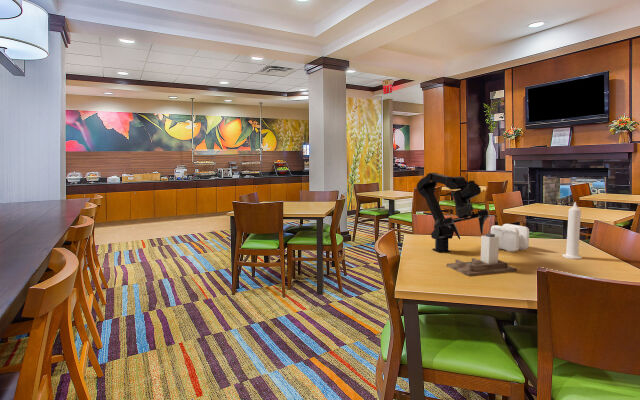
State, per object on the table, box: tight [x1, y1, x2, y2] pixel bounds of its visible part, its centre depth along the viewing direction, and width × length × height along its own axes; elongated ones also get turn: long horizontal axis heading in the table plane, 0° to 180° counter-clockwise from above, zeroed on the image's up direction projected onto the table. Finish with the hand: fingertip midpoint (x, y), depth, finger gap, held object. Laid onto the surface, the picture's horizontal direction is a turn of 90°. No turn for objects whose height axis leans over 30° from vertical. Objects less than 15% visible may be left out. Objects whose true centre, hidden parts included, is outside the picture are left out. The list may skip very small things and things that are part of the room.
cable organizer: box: [490, 223, 530, 253], centre depth 180 cm, size 15×11×12 cm
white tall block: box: [480, 232, 499, 264], centre depth 148 cm, size 4×4×13 cm
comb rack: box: [446, 257, 518, 277], centre depth 147 cm, size 14×22×3 cm, turn 104°
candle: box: [562, 201, 583, 260], centre depth 163 cm, size 7×7×25 cm
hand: (470, 237), depth 157 cm, fingers open, 9 cm apart
